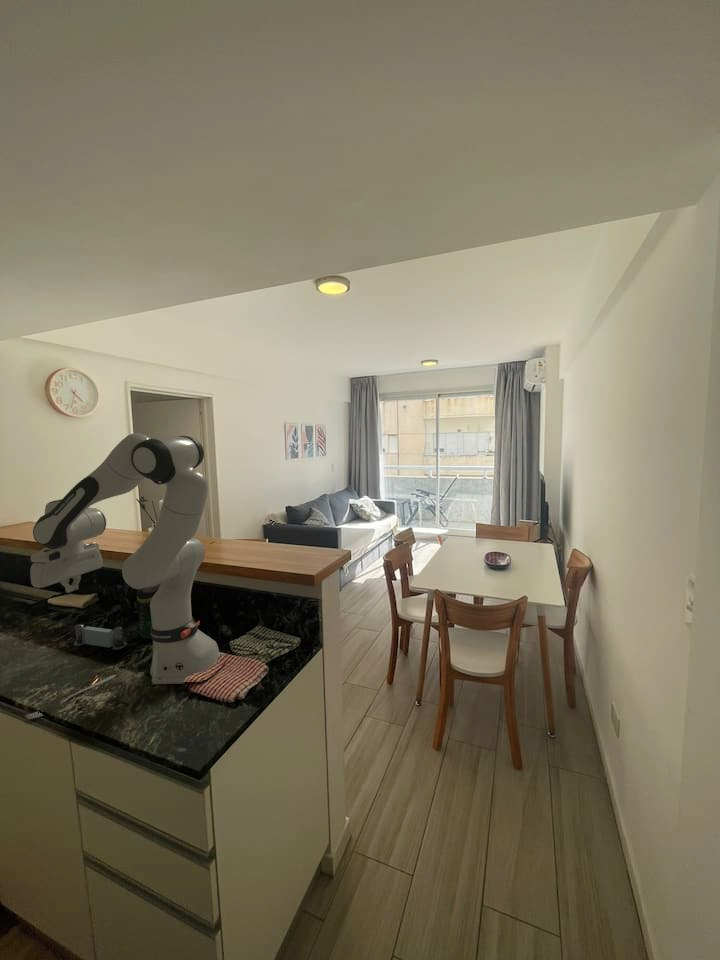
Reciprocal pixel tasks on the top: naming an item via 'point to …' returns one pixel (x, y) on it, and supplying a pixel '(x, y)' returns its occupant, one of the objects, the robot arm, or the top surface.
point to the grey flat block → (97, 636)
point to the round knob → (79, 635)
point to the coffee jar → (146, 609)
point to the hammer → (118, 639)
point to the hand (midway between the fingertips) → (72, 590)
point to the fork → (71, 696)
